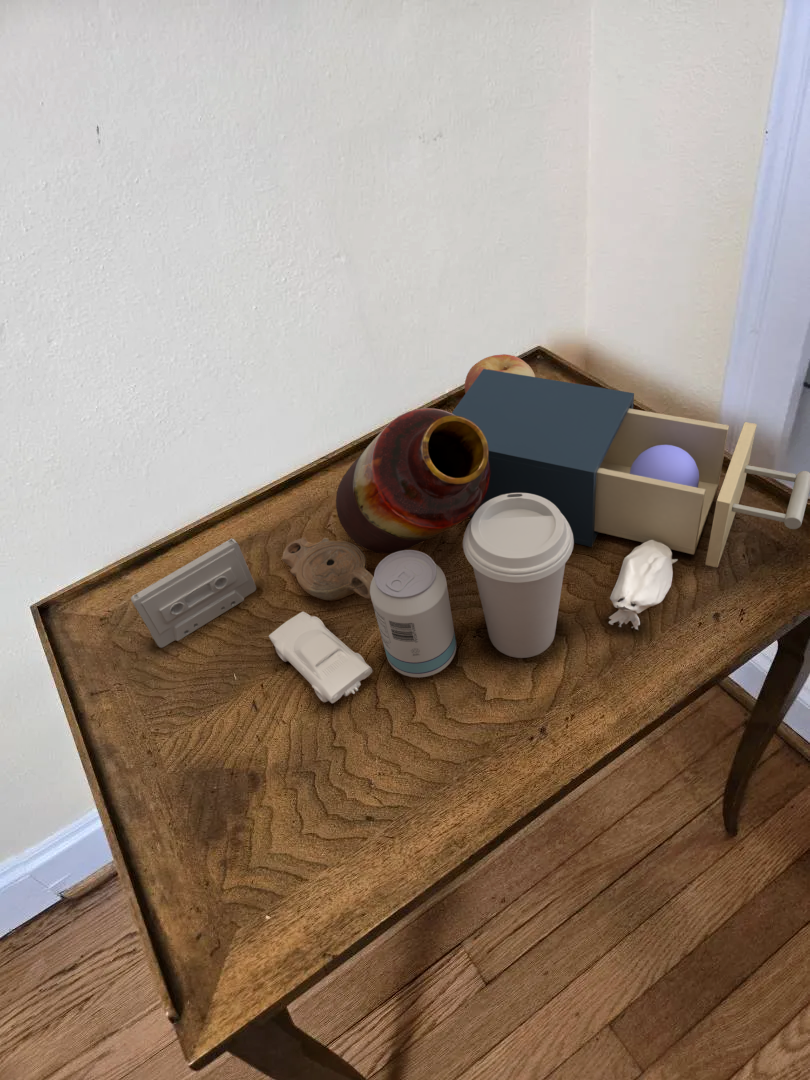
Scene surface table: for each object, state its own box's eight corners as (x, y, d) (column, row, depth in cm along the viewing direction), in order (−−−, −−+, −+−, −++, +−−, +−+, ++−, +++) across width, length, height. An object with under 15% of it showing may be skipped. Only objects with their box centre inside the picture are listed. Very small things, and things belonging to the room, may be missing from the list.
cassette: (161, 652, 84) (134, 605, 78) (154, 641, 85) (126, 594, 80) (260, 592, 88) (240, 543, 82) (252, 582, 89) (231, 534, 84)
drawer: (805, 500, 85) (824, 435, 78) (784, 584, 77) (803, 518, 71) (595, 458, 94) (597, 397, 88) (559, 529, 87) (558, 467, 81)
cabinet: (628, 468, 93) (634, 392, 86) (591, 547, 85) (594, 472, 78) (489, 440, 101) (483, 368, 93) (443, 511, 93) (432, 439, 85)
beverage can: (471, 649, 78) (460, 566, 70) (424, 696, 75) (406, 615, 67) (420, 615, 82) (404, 533, 74) (373, 659, 79) (350, 578, 71)
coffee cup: (582, 607, 80) (587, 498, 69) (554, 683, 74) (554, 577, 64) (492, 584, 84) (484, 477, 73) (458, 655, 78) (443, 550, 67)
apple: (456, 421, 104) (449, 369, 99) (499, 388, 108) (495, 336, 102) (508, 445, 99) (505, 392, 94) (552, 409, 103) (551, 355, 98)
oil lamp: (272, 578, 89) (260, 547, 85) (321, 539, 92) (311, 507, 89) (353, 634, 82) (344, 603, 78) (403, 589, 85) (396, 557, 82)
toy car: (309, 616, 84) (301, 595, 82) (380, 682, 77) (374, 661, 75) (266, 646, 82) (257, 626, 80) (336, 717, 75) (328, 697, 73)
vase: (310, 515, 88) (363, 456, 63) (368, 441, 91) (441, 357, 66) (388, 577, 89) (471, 543, 64) (443, 502, 92) (542, 442, 67)
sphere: (708, 498, 85) (717, 447, 80) (670, 535, 82) (677, 485, 77) (651, 472, 89) (656, 422, 84) (613, 507, 86) (616, 457, 82)
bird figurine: (663, 642, 77) (682, 553, 82) (651, 609, 72) (671, 516, 76) (613, 635, 80) (633, 550, 84) (598, 603, 75) (620, 514, 79)
